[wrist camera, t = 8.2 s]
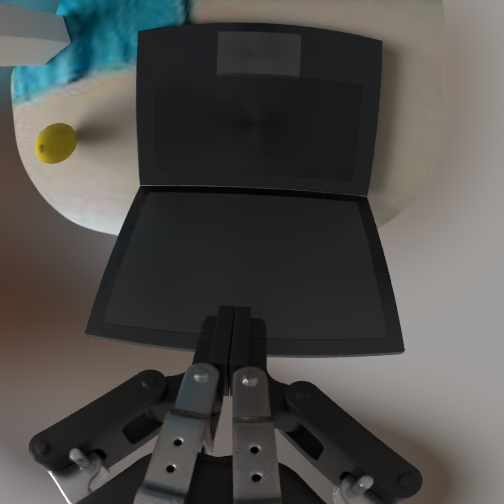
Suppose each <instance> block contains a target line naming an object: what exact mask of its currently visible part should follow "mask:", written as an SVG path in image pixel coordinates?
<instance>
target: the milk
mask: <svg viewBox="0 0 504 504" xmlns="http://www.w3.org/2000/svg"><path fill="white" fill-rule="evenodd" d="M69 44H71V41H70V38H69V35H68V32H67V29H66V25H65V22H64V19H63V16H60V15H56V14H52V13H48V12H44V11H39V10H34V9H30V8H24V7H19V6H13V5H7V4H0V66H21V65H45V64H46V63H47V62H48V61H49V60H51V59H52V58H53V57H54V56H56V55H57V54H58V53H59V52H60V51H62V50H63V49H64V48H66V47H67V46H68V45H69Z"/></svg>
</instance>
